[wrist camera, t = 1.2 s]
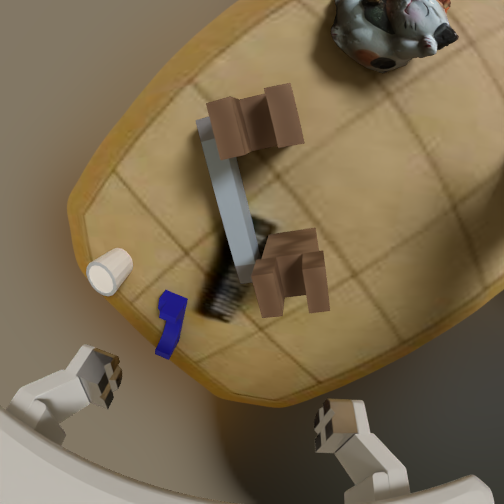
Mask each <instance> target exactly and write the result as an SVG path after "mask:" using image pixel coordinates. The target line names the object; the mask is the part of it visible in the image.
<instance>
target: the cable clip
mask: <svg viewBox="0 0 504 504" xmlns="http://www.w3.org/2000/svg"><path fill="white" fill-rule="evenodd" d="M187 300H188V299H187V298H184V297H182V296H180V295H177V294H175V293H172V292H170V291H167V290H165V292H164V293H163V294H162V296H161V297H160V298H159V305H158V309H159V310H160V316H159V318H161V319H164V320H166V325H165V328H164V331H163V334H162V337H161V339H160V342H159V344H158V346H157V348H156V349H155V354H156V355H159V356H161V357H163V358H166V359H168V360H169V359H170V357H171V355H172V353H173V351H174V349H175V347H176V345H177V343H178V342H179V338H180V333H181V328H182V323H183V319H184V314H185V309H186V305H187Z"/></svg>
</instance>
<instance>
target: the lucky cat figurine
mask: <svg viewBox="0 0 504 504" xmlns="http://www.w3.org/2000/svg"><path fill="white" fill-rule="evenodd" d="M335 4H336V17H335V20H334V24H333V26H332V28H331V35H332V37H333V40H334V41H335V43H336V44H337V46H338V47H339V48H341V49H342V50H343V51H344V52H345V53H346V54H347V55H348V56H350V57H351V58H352V59H354V60H355V61H356V62H358V63H359V64H360V65H363V66H364V67H366V68H368V69H371V70H375V71H378V72H380V73H385V72H387V71H389V70H393V69H396V68H399V67H400V66H405V65H406V64H407V63H408V62H409V61H410V60H411V59H412V58H417V57H419V58H423V57H426V56H432V55H434V54H436V52H437V50H440V49H442V48H443V47H444V46H448V45H449V44H451V43H453V42H455V41H456V40H457V39H458V37H459V36H458V35H457V34H456V32H455V31H454V30H453V29H452V28H451V26H450V25H449V22H448V19H447V15H446V13H447V10H448V9H449V7H450V4H451V2H450V0H335Z"/></svg>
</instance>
